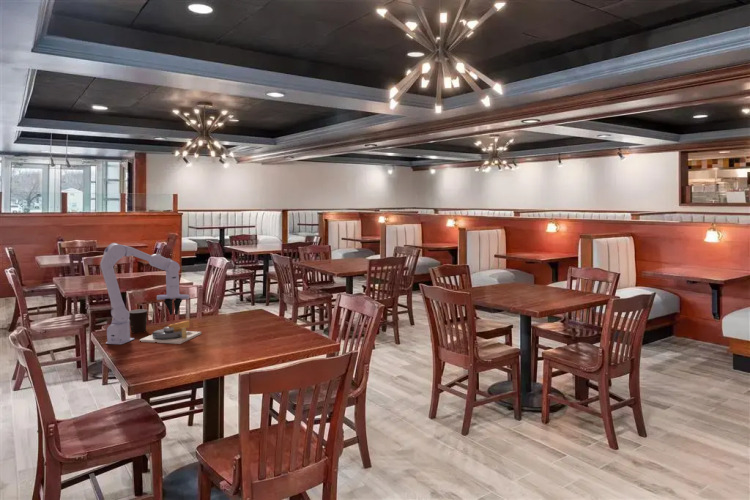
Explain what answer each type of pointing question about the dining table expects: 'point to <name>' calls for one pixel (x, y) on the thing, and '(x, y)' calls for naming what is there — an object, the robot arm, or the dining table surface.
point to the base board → (185, 336)
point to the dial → (171, 331)
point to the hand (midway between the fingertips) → (173, 314)
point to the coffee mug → (138, 320)
